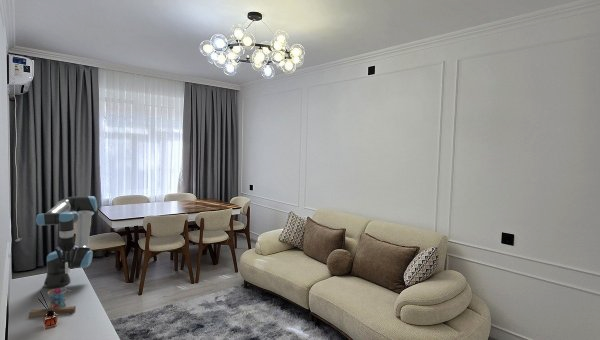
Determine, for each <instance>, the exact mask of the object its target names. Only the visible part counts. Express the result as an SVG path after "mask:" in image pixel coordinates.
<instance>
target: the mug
mask: <svg viewBox="0 0 600 340" xmlns="http://www.w3.org/2000/svg"><path fill="white" fill-rule="evenodd" d="M67 292H69V294H68V296H67V297H66V298H65V295H66V293H67ZM71 294H72V290H70V289H67V288H65V287H57V288H52V289H50V290H48V291H47V295H48V298H49V302H50V303H49V306H48V308H52V306H53V308H58V307H67V306H66V305H67V304H66V301H67V299H68V298H69V297H70V296H71Z"/></svg>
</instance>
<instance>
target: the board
mask: <svg viewBox="0 0 600 340" xmlns="http://www.w3.org/2000/svg"><path fill="white" fill-rule="evenodd" d="M76 309H77V308H76V305H72V306H65V307H58V308H53V311H54V312H55V313H56V314H61V315H71V314H74V313H76ZM51 310H52V308H49V307H48V308H41V309H40V308H37V309H31V310H30V311H29V312H28V314H29V315H28V316H29V318H36V317H37V318H38V317H39V318H40V317H46V316H45V315H46V314H47V312H48V311H51Z"/></svg>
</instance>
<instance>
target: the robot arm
mask: <svg viewBox="0 0 600 340" xmlns="http://www.w3.org/2000/svg"><path fill="white" fill-rule="evenodd" d="M97 201H98V200H97V198H96V196H94V195H93V196H92V195H87V196H86V195H85V196H82V195H81V196H75V195H74V196H68V197H65V198H63V199H60V200H59V201H57V202H56V204H55V205H54V206H53V207H52V208H50V209H49V210H48V211H47V212H45V213H39V214H37V215H36V218H35V223H36V225H37V226H53V225H54V226H55V225H58V227H59V228H58V230H59V231H58V232H59V245H58V246H57V247H55V248H54V251H52V252H49V254H47V256H46V277H45V280H44V282H43V287H44V288H46V289H56V288H63V287H65V286H68V285H69V284H70V283H71V277H70V274H69V273H70V272H71V271H70V270H72V269H83V268H88V267H89V266H90V265H91V264H92V261H93V257H94V256H93V253H94V251H93V250H91V247H90V246H89V242H90V234H91V226H92V216H93V215H94V214H95V212H97V211H98V202H97ZM75 223H77V224H76V232H75V229H74V226H75ZM75 233H76V234H75ZM74 235H75V236H74Z"/></svg>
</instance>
